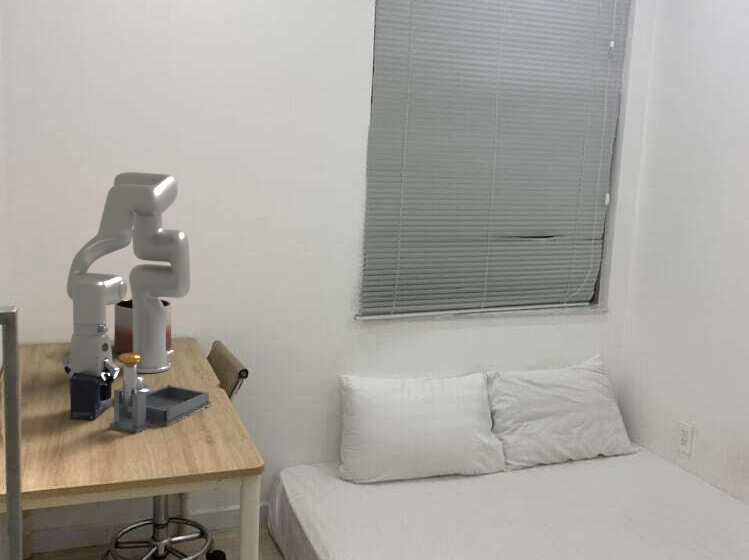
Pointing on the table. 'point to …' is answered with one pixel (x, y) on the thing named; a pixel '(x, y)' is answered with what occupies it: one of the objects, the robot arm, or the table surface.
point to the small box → (86, 397)
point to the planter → (125, 326)
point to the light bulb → (129, 376)
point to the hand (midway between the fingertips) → (90, 396)
